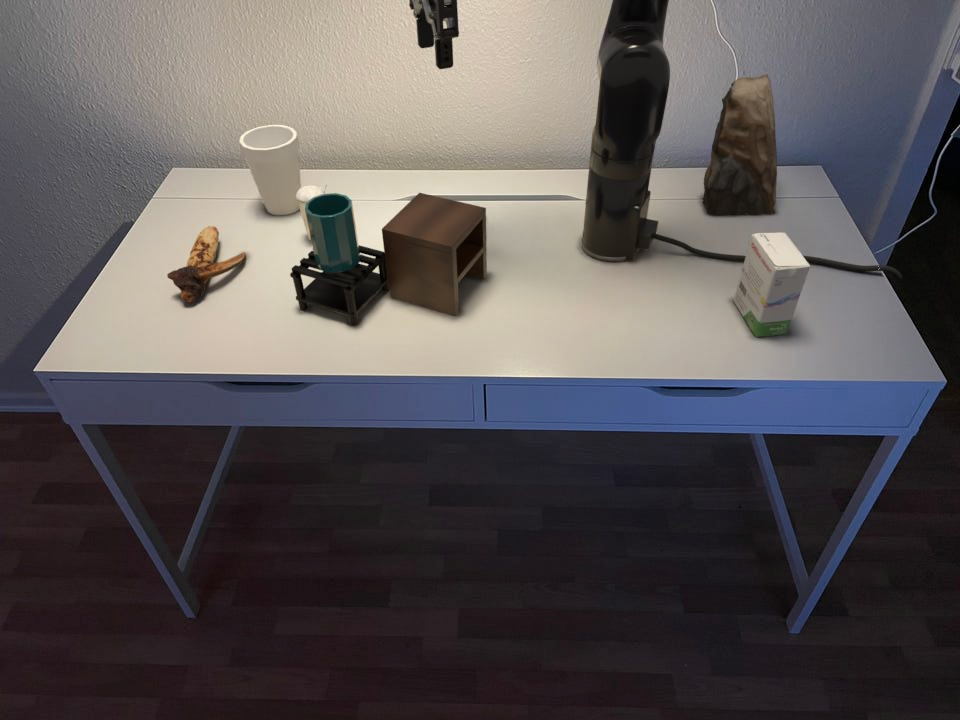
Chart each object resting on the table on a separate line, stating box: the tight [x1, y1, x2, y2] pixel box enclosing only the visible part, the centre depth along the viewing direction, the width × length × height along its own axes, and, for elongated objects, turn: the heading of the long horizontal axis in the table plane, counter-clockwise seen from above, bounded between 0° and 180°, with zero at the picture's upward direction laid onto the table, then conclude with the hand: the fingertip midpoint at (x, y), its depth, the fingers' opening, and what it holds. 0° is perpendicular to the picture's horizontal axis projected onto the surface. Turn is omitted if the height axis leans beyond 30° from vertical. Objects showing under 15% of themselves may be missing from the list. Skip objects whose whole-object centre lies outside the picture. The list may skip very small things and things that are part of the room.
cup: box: [305, 192, 361, 273], centre depth 100 cm, size 6×6×9 cm
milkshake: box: [296, 184, 328, 242], centre depth 117 cm, size 4×5×10 cm
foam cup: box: [238, 124, 302, 216], centre depth 124 cm, size 10×9×13 cm
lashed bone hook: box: [166, 226, 246, 303], centre depth 112 cm, size 9×5×18 cm
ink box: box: [732, 231, 811, 338], centre depth 99 cm, size 8×5×12 cm, turn 6°
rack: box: [289, 244, 389, 327], centre depth 106 cm, size 10×10×7 cm
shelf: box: [381, 192, 488, 317], centre depth 106 cm, size 11×11×12 cm
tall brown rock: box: [701, 73, 778, 216], centre depth 121 cm, size 13×13×20 cm
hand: (435, 56), depth 98 cm, fingers open, 8 cm apart
